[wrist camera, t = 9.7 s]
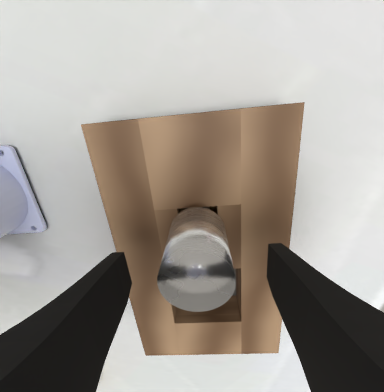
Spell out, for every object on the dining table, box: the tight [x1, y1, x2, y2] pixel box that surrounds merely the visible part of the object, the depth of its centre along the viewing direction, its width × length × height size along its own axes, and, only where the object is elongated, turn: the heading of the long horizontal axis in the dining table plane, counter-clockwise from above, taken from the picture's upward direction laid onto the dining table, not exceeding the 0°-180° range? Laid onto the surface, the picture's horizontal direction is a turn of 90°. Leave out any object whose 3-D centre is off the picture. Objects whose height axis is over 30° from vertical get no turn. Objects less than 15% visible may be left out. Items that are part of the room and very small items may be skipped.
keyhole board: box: [81, 102, 304, 356], centre depth 18 cm, size 13×22×4 cm, turn 5°
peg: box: [157, 206, 236, 312], centre depth 13 cm, size 5×5×8 cm
